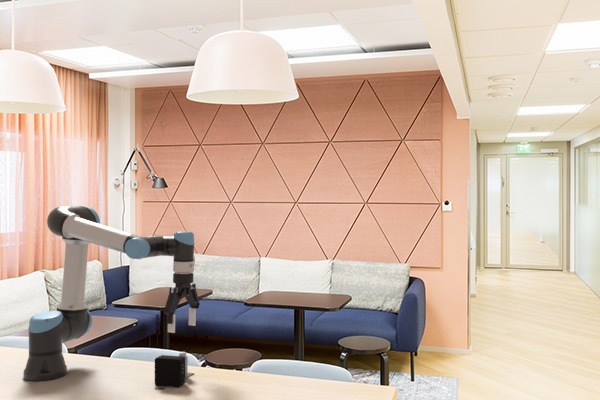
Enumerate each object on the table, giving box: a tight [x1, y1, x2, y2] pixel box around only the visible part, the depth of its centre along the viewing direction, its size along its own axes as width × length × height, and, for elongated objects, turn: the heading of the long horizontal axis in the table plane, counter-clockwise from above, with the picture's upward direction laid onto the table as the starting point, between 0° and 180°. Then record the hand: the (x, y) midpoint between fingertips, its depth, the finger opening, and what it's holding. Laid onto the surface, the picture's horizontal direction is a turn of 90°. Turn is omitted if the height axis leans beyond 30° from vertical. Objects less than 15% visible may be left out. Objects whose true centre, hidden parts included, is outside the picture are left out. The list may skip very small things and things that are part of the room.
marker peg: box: [178, 351, 189, 379], centre depth 210 cm, size 4×4×9 cm
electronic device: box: [154, 354, 186, 389], centre depth 201 cm, size 4×10×10 cm, turn 77°
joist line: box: [154, 372, 195, 391], centre depth 205 cm, size 3×20×1 cm, turn 158°
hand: (181, 328), depth 210 cm, fingers open, 13 cm apart
